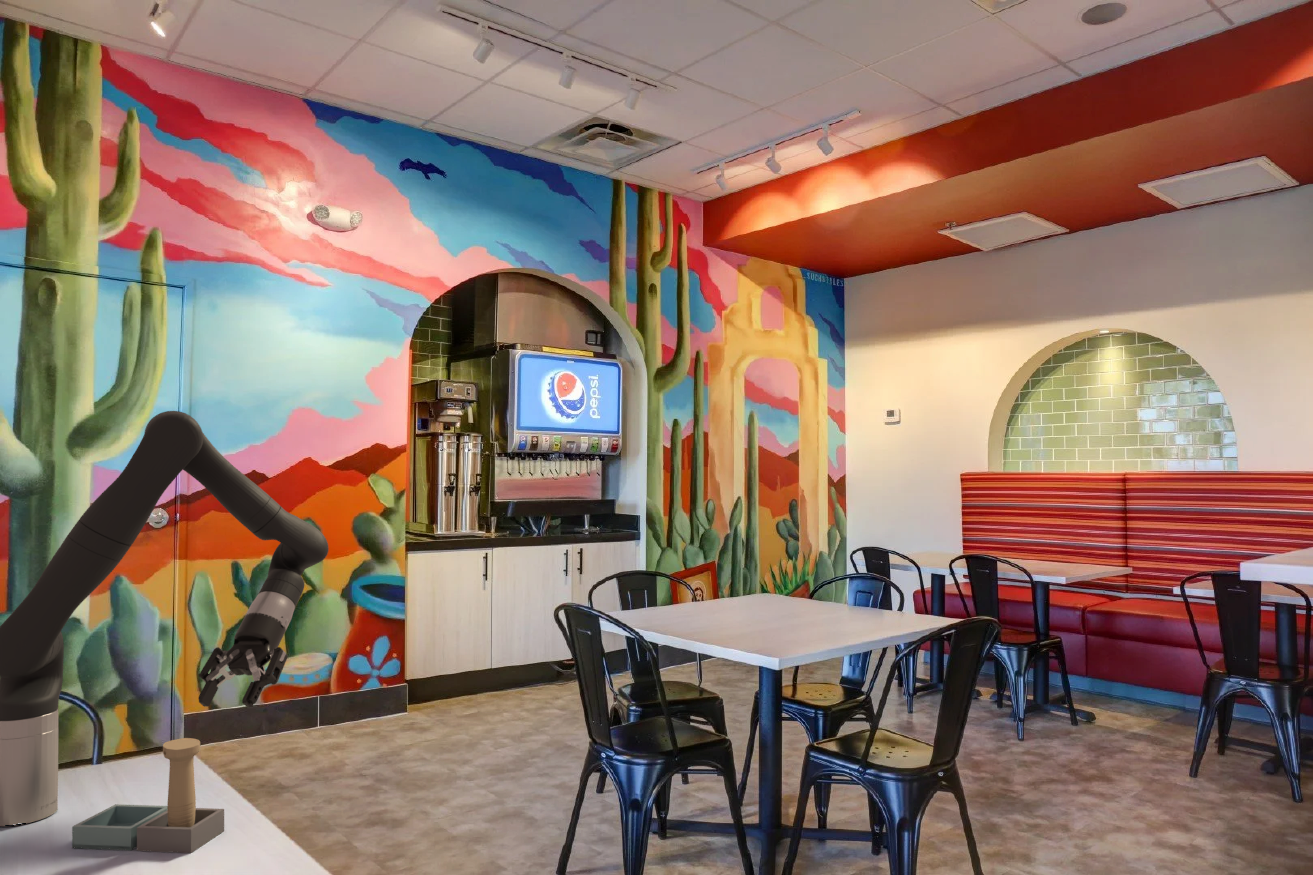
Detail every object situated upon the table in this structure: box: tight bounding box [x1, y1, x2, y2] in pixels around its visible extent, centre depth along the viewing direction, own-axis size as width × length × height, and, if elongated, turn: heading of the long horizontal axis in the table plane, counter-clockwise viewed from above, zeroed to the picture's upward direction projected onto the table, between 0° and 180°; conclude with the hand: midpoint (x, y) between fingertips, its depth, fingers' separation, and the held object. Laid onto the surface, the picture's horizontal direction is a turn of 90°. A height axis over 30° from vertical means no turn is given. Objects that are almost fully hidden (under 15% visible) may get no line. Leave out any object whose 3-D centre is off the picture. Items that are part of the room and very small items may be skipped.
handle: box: [162, 737, 201, 827], centre depth 135 cm, size 5×6×15 cm
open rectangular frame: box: [136, 807, 225, 854], centre depth 135 cm, size 9×8×4 cm
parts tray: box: [71, 803, 168, 851], centre depth 137 cm, size 10×9×3 cm
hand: (224, 704), depth 146 cm, fingers open, 8 cm apart
